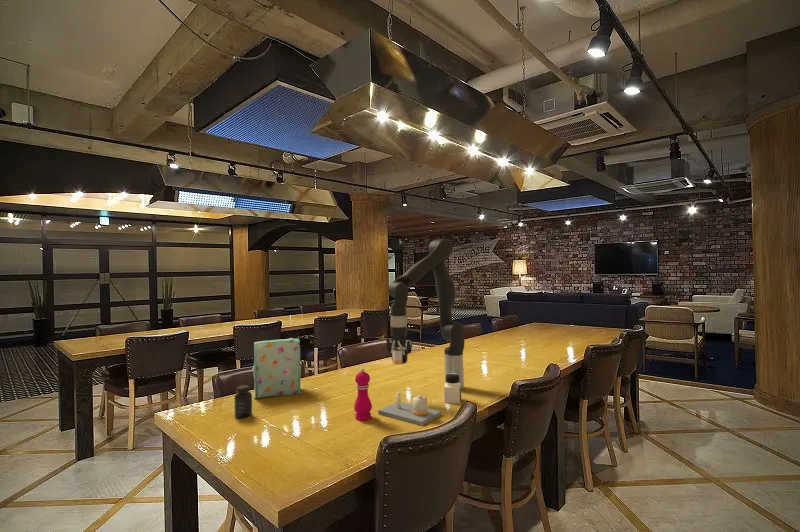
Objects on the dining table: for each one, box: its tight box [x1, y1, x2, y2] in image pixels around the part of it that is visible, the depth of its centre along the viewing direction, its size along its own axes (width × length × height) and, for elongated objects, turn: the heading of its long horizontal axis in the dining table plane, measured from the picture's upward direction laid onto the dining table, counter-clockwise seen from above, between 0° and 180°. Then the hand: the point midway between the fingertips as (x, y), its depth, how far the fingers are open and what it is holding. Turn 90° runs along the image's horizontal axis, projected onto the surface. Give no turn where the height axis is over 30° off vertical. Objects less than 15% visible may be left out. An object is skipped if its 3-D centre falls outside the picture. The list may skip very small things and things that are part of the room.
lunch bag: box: [251, 337, 302, 399], centre depth 194 cm, size 23×16×27 cm
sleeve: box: [391, 348, 406, 365], centre depth 181 cm, size 6×6×6 cm
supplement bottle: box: [233, 384, 253, 419], centre depth 163 cm, size 7×7×12 cm
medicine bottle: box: [443, 373, 462, 405], centre depth 178 cm, size 7×7×12 cm
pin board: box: [377, 391, 442, 426], centre depth 161 cm, size 14×22×9 cm, turn 52°
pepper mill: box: [353, 367, 373, 422], centre depth 158 cm, size 7×7×20 cm
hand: (399, 361), depth 181 cm, fingers closed on sleeve, 5 cm apart
